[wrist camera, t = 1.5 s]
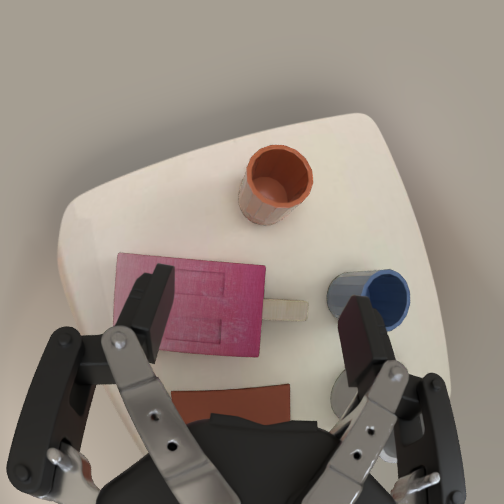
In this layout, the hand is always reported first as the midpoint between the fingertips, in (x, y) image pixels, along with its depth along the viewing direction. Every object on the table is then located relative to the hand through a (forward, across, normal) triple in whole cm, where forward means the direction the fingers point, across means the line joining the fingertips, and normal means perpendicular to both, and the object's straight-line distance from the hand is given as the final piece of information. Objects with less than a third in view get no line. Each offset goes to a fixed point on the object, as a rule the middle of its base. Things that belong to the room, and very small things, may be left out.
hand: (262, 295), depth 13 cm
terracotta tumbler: (+22, -1, +6) cm, 23 cm away
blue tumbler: (+16, -13, +13) cm, 25 cm away
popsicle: (+13, +3, +15) cm, 20 cm away
